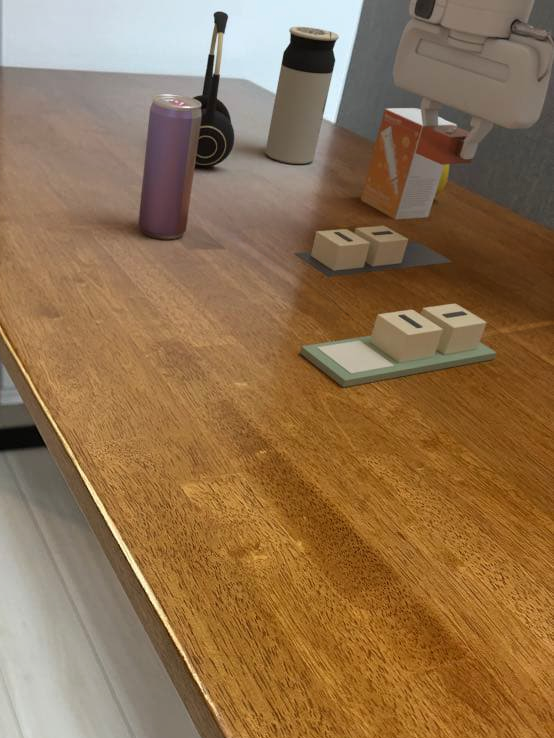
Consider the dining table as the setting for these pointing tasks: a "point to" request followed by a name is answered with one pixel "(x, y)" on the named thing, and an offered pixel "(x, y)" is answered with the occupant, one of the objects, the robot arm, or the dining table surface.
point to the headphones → (214, 107)
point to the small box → (401, 167)
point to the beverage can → (169, 165)
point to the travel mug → (301, 95)
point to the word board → (404, 346)
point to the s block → (441, 144)
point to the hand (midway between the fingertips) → (445, 149)
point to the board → (366, 251)
